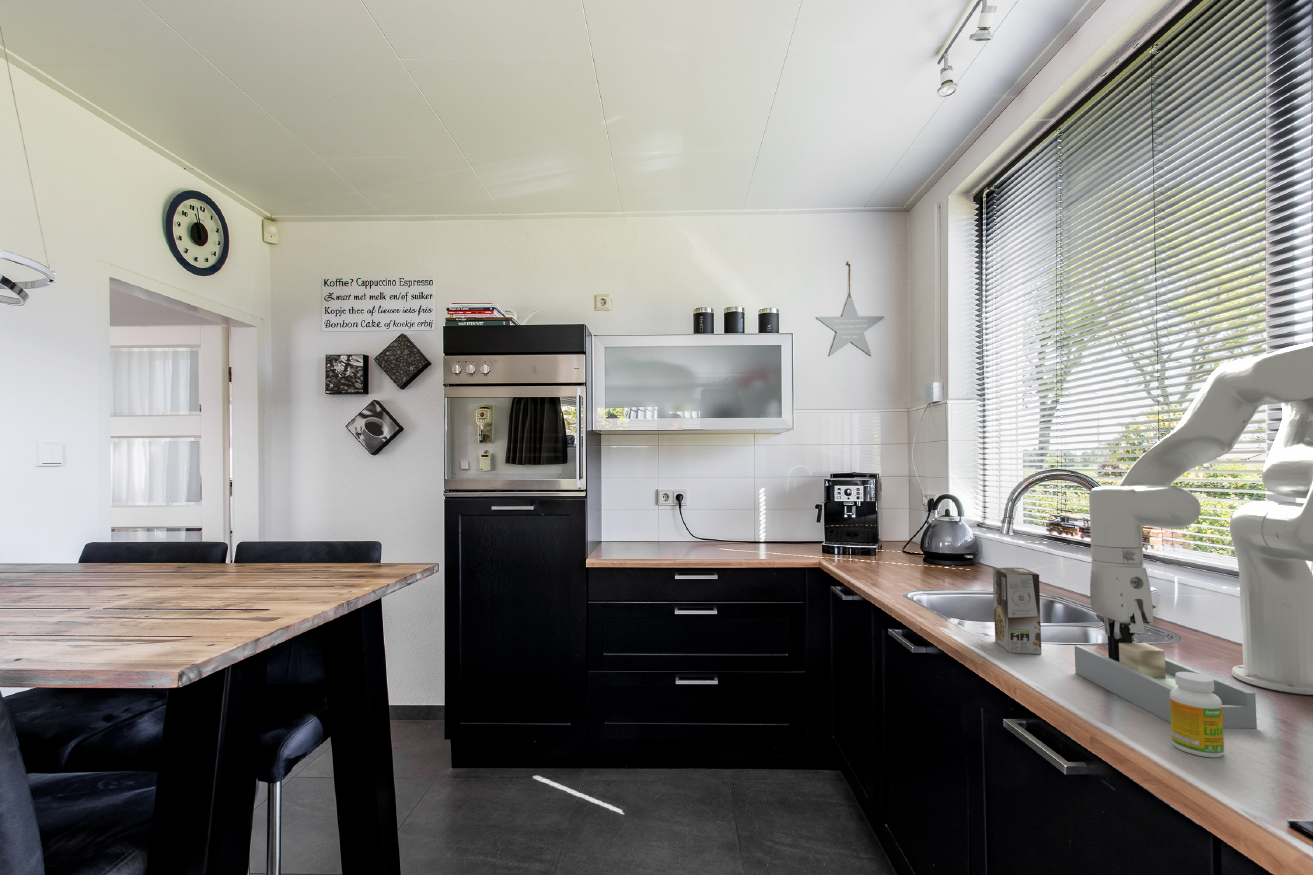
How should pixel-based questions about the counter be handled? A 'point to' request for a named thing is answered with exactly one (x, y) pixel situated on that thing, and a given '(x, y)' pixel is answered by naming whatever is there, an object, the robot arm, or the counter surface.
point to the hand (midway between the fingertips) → (1120, 659)
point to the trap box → (1162, 687)
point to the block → (1143, 658)
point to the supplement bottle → (1196, 716)
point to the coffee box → (1017, 610)
